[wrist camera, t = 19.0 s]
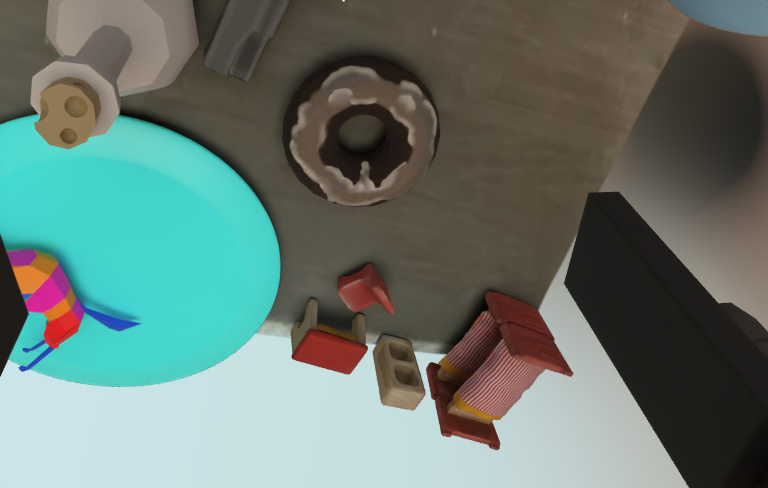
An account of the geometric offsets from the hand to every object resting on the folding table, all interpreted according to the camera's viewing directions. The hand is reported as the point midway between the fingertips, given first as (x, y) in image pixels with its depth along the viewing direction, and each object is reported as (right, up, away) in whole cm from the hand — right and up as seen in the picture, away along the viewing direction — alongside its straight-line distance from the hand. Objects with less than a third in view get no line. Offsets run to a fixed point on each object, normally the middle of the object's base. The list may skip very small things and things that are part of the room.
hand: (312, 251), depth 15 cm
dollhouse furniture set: (+5, -8, +47) cm, 48 cm away
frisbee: (-21, -1, +37) cm, 42 cm away
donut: (0, +10, +34) cm, 35 cm away
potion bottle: (-15, +16, +27) cm, 34 cm away
